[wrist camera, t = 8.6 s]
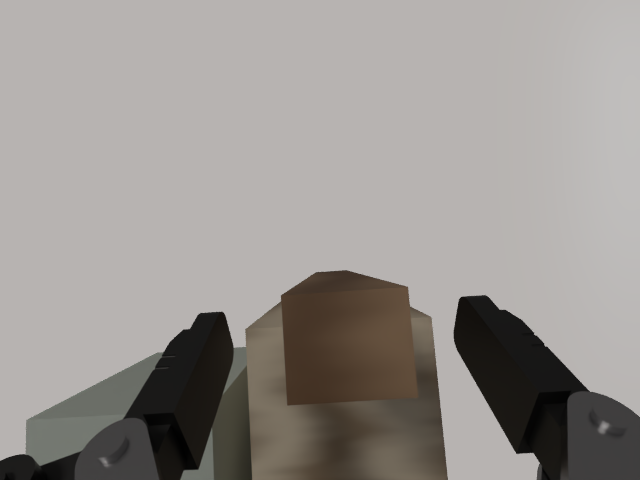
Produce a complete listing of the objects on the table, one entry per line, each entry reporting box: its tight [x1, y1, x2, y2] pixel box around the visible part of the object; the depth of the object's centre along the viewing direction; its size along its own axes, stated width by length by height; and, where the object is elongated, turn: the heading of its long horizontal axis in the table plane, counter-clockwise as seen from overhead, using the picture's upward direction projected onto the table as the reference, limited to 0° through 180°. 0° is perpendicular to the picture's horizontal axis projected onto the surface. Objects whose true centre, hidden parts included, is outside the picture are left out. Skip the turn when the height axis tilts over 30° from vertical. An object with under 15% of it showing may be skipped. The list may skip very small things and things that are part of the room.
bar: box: [281, 270, 418, 406], centre depth 18 cm, size 3×22×2 cm, turn 178°
